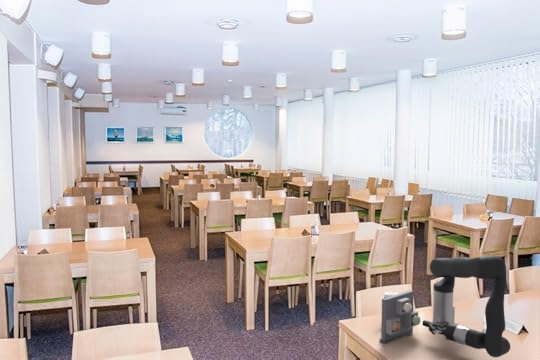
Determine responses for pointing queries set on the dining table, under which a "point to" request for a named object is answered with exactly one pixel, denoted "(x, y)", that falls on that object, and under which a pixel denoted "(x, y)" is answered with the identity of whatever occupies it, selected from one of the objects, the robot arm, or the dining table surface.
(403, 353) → the dining table surface
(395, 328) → the terracotta button
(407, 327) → the button panel
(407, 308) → the cream button
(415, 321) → the sage button
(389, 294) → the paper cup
